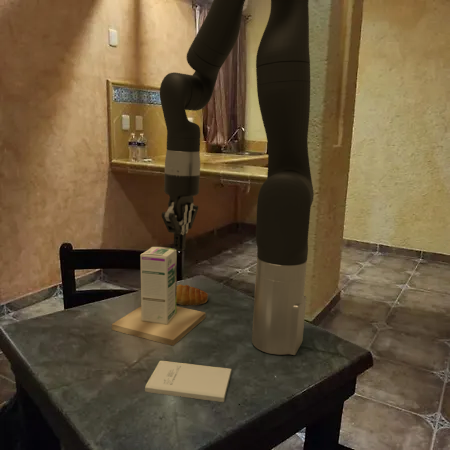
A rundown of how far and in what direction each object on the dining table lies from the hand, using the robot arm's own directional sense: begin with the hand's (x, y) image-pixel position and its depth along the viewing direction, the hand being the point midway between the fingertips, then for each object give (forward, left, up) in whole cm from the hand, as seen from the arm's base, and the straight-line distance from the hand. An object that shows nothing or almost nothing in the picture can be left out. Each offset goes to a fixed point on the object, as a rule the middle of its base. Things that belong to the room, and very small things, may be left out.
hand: (179, 249), depth 97 cm
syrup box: (-1, +10, -12) cm, 16 cm away
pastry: (0, -4, -14) cm, 14 cm away
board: (-1, +10, -13) cm, 17 cm away
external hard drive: (-17, +26, -14) cm, 34 cm away
